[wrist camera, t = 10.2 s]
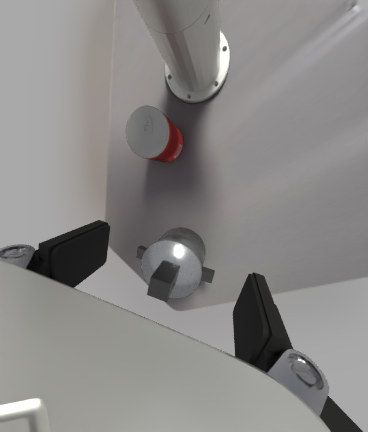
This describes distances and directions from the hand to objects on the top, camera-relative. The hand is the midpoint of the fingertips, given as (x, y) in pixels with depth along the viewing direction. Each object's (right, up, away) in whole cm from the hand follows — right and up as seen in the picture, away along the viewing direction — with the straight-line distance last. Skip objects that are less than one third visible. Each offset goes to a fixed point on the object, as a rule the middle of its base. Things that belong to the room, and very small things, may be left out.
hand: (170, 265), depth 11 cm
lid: (-2, -8, +24) cm, 25 cm away
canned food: (-3, +19, +28) cm, 34 cm away
